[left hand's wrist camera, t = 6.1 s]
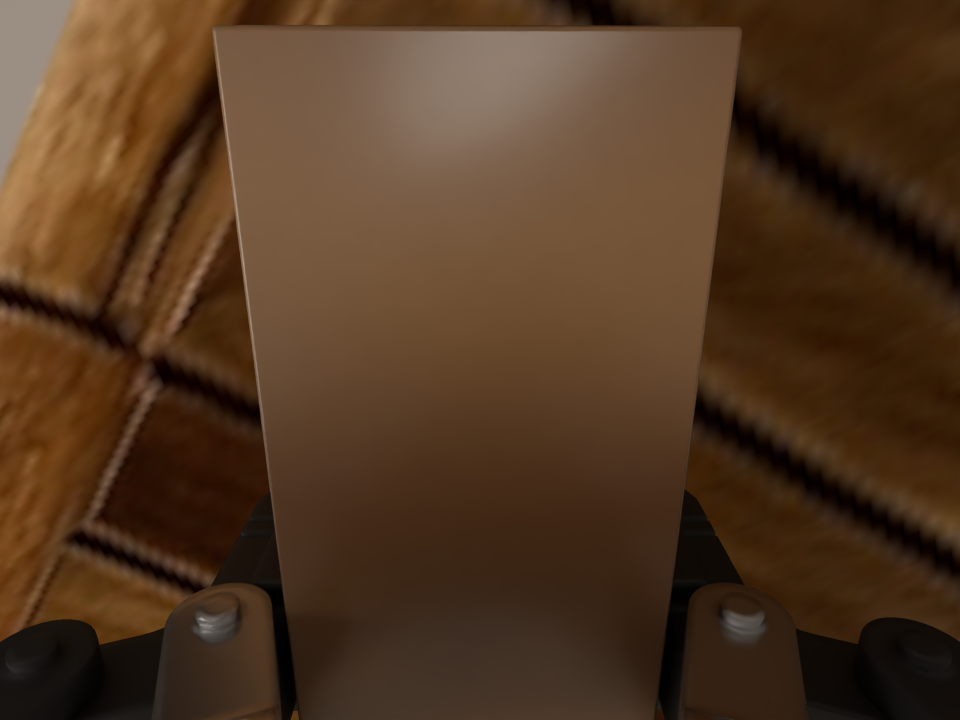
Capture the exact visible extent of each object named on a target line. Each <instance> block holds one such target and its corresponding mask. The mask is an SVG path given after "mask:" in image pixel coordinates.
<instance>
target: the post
mask: <svg viewBox="0 0 960 720" xmlns="http://www.w3.org/2000/svg"><path fill="white" fill-rule="evenodd" d="M212 35H213V43H214V51H215V59H216V67H217V75H218V83H219V91H220V99H221V107H222V114H223V122H224V130H225V138H226V146H227V154H228V162H229V170H230V178H231V186H232V193H233V201H234V209H235V217H236V225H237V233H238V241H239V249H240V257H241V264H242V272H243V280H244V288H245V296H246V304H247V312H248V320H249V328H250V336H251V343H252V351H253V359H254V367H255V375H256V383H257V391H258V399H259V407H260V415H261V422H262V430H263V438H264V446H265V454H266V462H267V470H268V478H269V486H270V494H271V501H272V509H273V517H274V525H275V533H276V541H277V549H278V557H279V565H280V572H281V580H282V588H283V596H284V604H285V612H286V620H287V628H288V636H289V644H290V651H291V659H292V667H293V675H294V683H295V691H296V699H297V707H298V715H299V720H655V718H656V710H657V702H658V694H659V686H660V678H661V671H662V663H663V655H664V647H665V639H666V631H667V623H668V615H669V607H670V600H671V592H672V584H673V576H674V568H675V560H676V552H677V544H678V536H679V529H680V521H681V513H682V505H683V497H684V489H685V481H686V473H687V465H688V458H689V450H690V442H691V434H692V426H693V418H694V410H695V402H696V394H697V387H698V379H699V371H700V363H701V355H702V347H703V339H704V331H705V323H706V316H707V308H708V300H709V292H710V284H711V276H712V268H713V260H714V253H715V245H716V237H717V229H718V221H719V213H720V205H721V197H722V189H723V182H724V174H725V166H726V158H727V150H728V142H729V134H730V126H731V118H732V111H733V103H734V95H735V87H736V79H737V71H738V63H739V55H740V47H741V40H742V28H740V27H738V26H488V25H216V26H214V27H213V29H212Z"/></svg>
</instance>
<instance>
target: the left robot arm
mask: <svg viewBox="0 0 960 720" xmlns="http://www.w3.org/2000/svg"><path fill="white" fill-rule="evenodd" d="M657 710H663V714H664V717H665V720H960V642H959V641H958V640H956V639H955V638H953V637H951V636H950V635H948V634H946V633H944V632H942V631H940V630H938V629H936V628H934V627H932V626H929V625H927V624H924V623H920V622H917V621H914V620H909V619H904V618H879V619H876V620H873V621H871V622H869V623H868V624H866V625H865V626H864V628H863V629H862V632H861V635H860V639H859V642H858V644H854V643H850V642H845V641H841V640H837V639H832V638H828V637H824V636H819V635H815V634H811V633H808V632H804V631H801V630H798V629H796V628H795V624H794V621H793V619H792V617H791V615H790V614H789V613H788V612H787V610H786V609H785V608H784V607H783V606H782V605H781V604H780V603H779V602H777V601H776V600H775V599H773V598H772V597H770V596H768V595H767V594H765V593H763V592H761V591H759V590H756V589H754V588H751V587H748V586H745V585H744V584H743V582H742V580H741V578H740V576H739V575H738V573H737V571H736V569H735V567H734V566H733V564H732V562H731V560H730V558H729V556H728V555H727V553H726V551H725V549H724V547H723V546H722V544H721V542H720V540H719V538H718V537H717V536H715V531H714V529H713V527H712V526H711V524H710V522H709V521H707V517H706V515H705V513H704V511H703V509H702V507H701V506H700V504H699V502H698V500H697V499H696V498H695V497H694V496H692V495H691V494H690V493H688V492H687V491H686V490H685V489H684V497H683V505H682V513H681V521H680V529H679V536H678V544H677V552H676V560H675V568H674V576H673V584H672V592H671V600H670V607H669V615H668V623H667V631H666V639H665V647H664V655H663V663H662V671H661V678H660V686H659V694H658V702H657ZM293 711H298V707H297V699H296V691H295V683H294V675H293V667H292V659H291V651H290V644H289V636H288V628H287V620H286V612H285V604H284V596H283V588H282V580H281V572H280V565H279V557H278V549H277V541H276V533H275V525H274V517H273V509H272V501H271V494H270V492H269V493H267V494H266V495H265V496H264V497H262V498H261V499H260V500H259V501H258V503H257V505H256V507H255V509H254V510H253V512H252V514H251V516H250V518H249V522H247V523H246V525H245V526H244V528H243V530H242V532H241V537H238V539H237V541H236V543H235V544H234V546H233V548H232V550H231V551H230V553H229V555H228V557H227V559H226V560H225V562H224V564H223V566H222V567H221V569H220V571H219V573H218V575H217V576H216V578H215V580H214V582H213V584H212V585H211V587H209V588H206V589H204V590H201V591H199V592H197V593H195V594H193V595H192V596H190V597H188V598H187V599H185V600H184V601H183V602H182V603H180V604H179V605H178V606H177V607H176V608H175V609H174V610H173V612H172V613H171V614H170V615H169V617H168V619H167V621H166V624H165V627H164V628H162V629H160V630H157V631H154V632H151V633H148V634H144V635H140V636H136V637H131V638H127V639H123V640H118V641H114V642H110V643H105V644H101V645H99V642H98V638H97V634H96V632H95V630H94V629H93V628H92V626H90V625H89V624H87V623H85V622H82V621H79V620H72V619H62V620H53V621H49V622H44V623H40V624H37V625H34V626H31V627H28V628H26V629H23V630H21V631H19V632H17V633H15V634H13V635H11V636H9V637H8V638H6V639H4V640H3V641H1V642H0V720H291V716H292V713H293Z"/></svg>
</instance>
